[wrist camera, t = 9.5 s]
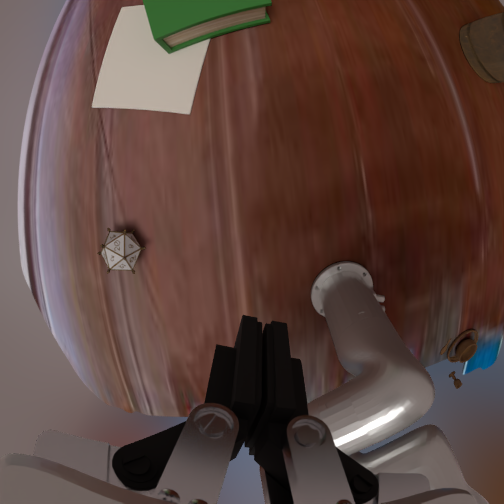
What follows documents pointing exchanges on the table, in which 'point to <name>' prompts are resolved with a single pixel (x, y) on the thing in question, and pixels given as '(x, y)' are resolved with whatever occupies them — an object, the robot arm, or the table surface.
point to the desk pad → (146, 69)
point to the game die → (120, 250)
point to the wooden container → (485, 47)
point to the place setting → (461, 352)
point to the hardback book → (201, 19)
